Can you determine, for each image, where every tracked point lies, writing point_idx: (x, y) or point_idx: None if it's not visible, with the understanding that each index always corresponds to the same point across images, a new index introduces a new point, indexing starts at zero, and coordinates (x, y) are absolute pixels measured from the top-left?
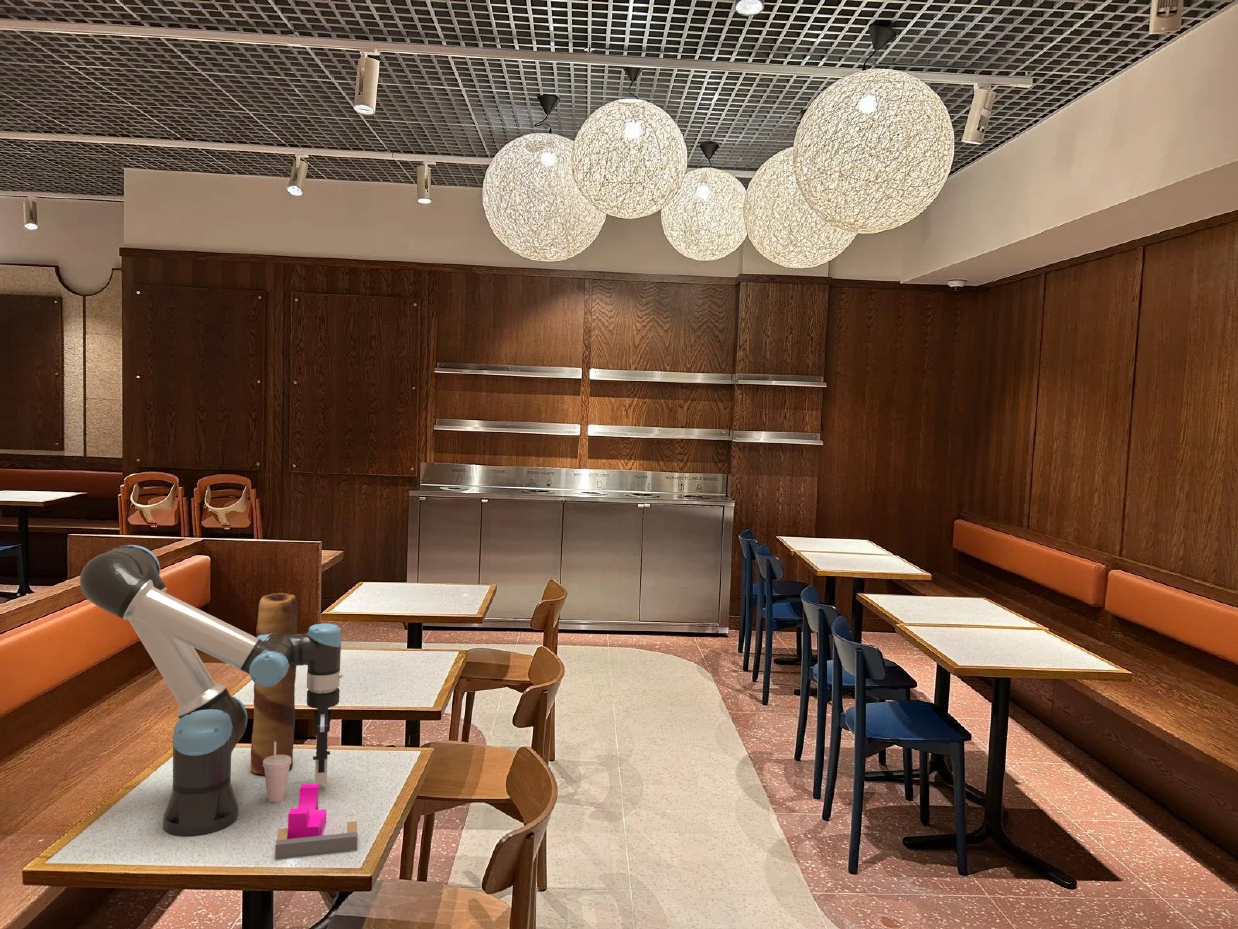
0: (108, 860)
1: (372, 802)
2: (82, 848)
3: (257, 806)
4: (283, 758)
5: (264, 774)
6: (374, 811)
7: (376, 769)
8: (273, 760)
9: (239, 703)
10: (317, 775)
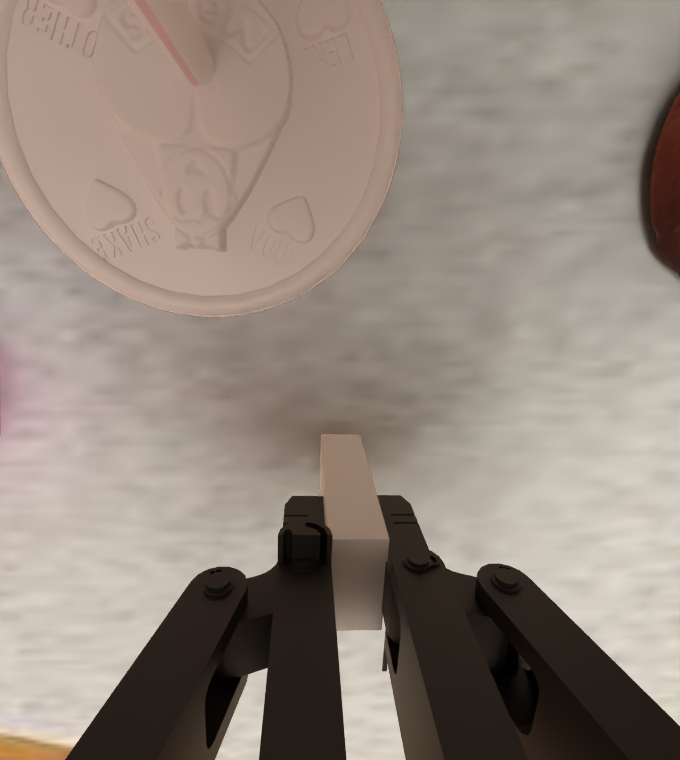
0: None
1: (122, 673)
2: None
3: None
4: (196, 206)
5: (673, 102)
6: (15, 680)
7: None
8: (143, 40)
9: None
10: (322, 476)
